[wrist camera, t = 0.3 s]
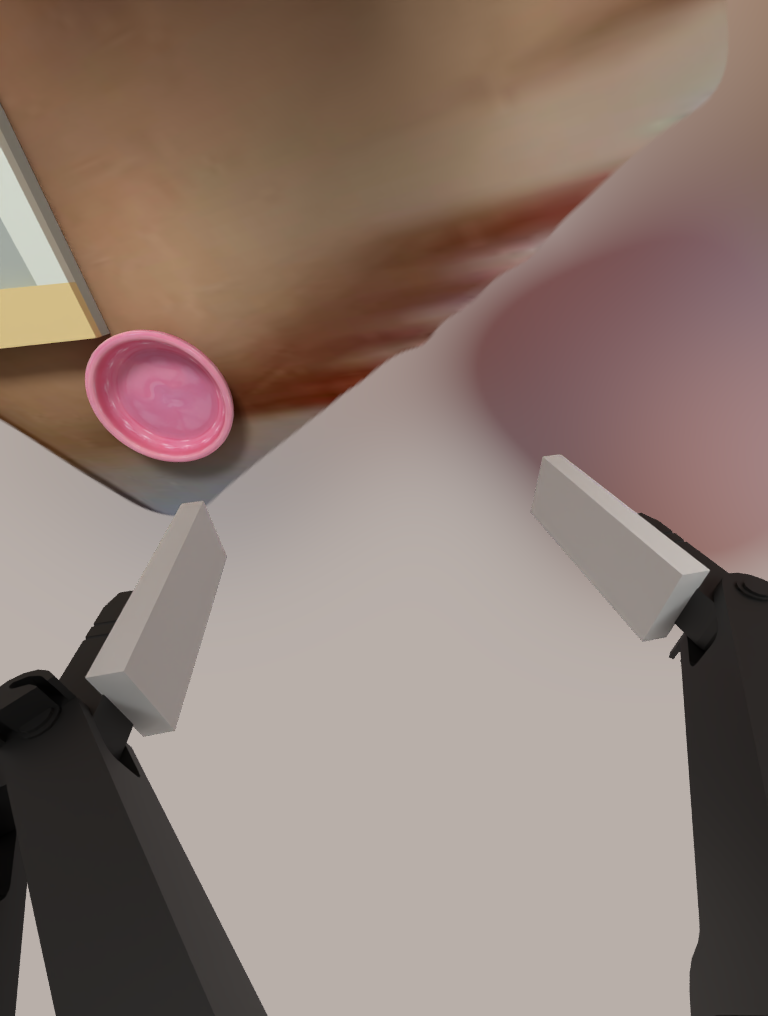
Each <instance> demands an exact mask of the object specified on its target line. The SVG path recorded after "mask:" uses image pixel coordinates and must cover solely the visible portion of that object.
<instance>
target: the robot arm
mask: <svg viewBox="0 0 768 1016" xmlns="http://www.w3.org/2000/svg"><path fill="white" fill-rule="evenodd" d="M531 514H532V515H533V516H534V517H535V518H536V520H537V521H538V522H539V523H540V524H541V525H542V526H543V528H544V529H545V530H546V531H547V532H548V533H549V535H550V536H551V537H552V538H553V539H554V540H555V541H556V543H557V544H558V545H559V546H560V547H561V548H562V549H563V551H564V552H565V553H566V554H567V555H568V556H569V557H570V559H571V560H572V561H573V562H574V563H575V565H577V567H578V568H579V569H580V570H581V571H582V573H583V574H584V575H585V576H586V577H587V578H588V579H589V581H590V582H591V583H592V584H593V585H594V586H595V588H596V589H597V590H598V591H599V592H600V593H601V594H602V596H603V597H604V598H605V599H606V600H607V601H608V603H609V604H610V605H611V606H612V607H613V608H614V610H615V611H616V612H617V613H618V614H619V615H620V616H621V618H622V619H623V620H624V621H625V622H626V623H627V625H628V626H629V627H630V628H631V629H632V630H633V631H634V633H635V634H636V635H637V636H638V637H639V638H640V640H642V641H649V640H653V639H659V638H664V637H667V635H668V634H669V632H670V631H671V629H672V627H673V626H674V624H676V625H677V626H678V627H679V628H680V629H681V630H682V631H683V632H684V633H683V635H682V636H681V638H680V639H679V640H678V642H677V643H676V645H675V646H674V648H673V649H672V651H671V652H670V656H669V657H670V658H672V659H674V658H675V656H676V655H677V654H678V652H681V666H682V679H683V680H682V681H683V694H684V709H685V723H686V737H687V751H688V765H689V780H690V794H691V807H692V823H693V836H694V850H695V863H696V864H695V865H696V879H697V891H698V892H697V893H698V908H699V922H700V933H699V940H698V944H697V947H696V949H695V952H694V955H693V957H692V961H691V968H690V1005H691V1006H690V1007H691V1016H768V582H767V581H765V580H763V579H760V578H758V577H755V576H752V575H748V574H742V573H728V572H726V571H725V570H724V569H722V568H721V567H719V566H718V565H717V564H716V563H714V562H713V561H712V560H710V559H709V558H708V557H706V556H705V555H703V554H702V553H701V552H700V551H698V550H697V549H695V548H694V547H693V546H691V545H690V544H689V543H687V542H684V541H683V539H682V538H681V537H679V536H678V535H677V534H675V533H672V531H671V530H670V529H669V528H667V527H666V526H665V525H663V524H662V523H661V522H659V521H658V520H656V519H653V518H651V517H649V516H647V515H645V514H643V513H636V512H634V511H633V510H632V509H630V508H629V507H628V506H627V505H625V504H624V503H623V502H621V501H620V500H619V499H617V498H616V497H615V496H614V495H612V494H611V493H610V492H608V491H607V490H606V489H605V488H603V487H602V486H601V485H600V484H598V483H597V482H595V481H594V480H593V479H592V478H590V477H589V476H588V475H587V474H585V473H584V472H583V471H581V470H580V469H579V468H578V467H576V466H575V465H574V464H572V463H571V462H570V461H568V460H567V459H566V458H565V457H563V456H562V455H552V456H545V457H543V458H542V463H541V468H540V472H539V477H538V481H537V485H536V490H535V494H534V499H533V503H532V507H531ZM226 558H227V556H226V554H225V551H224V549H223V546H222V544H221V542H220V539H219V537H218V534H217V533H216V530H215V528H214V525H213V523H212V520H211V518H210V515H209V513H208V511H207V508H206V506H205V503H204V501H199V502H191V503H183V504H181V506H180V507H179V509H178V511H177V513H176V515H175V516H174V518H173V520H172V522H171V524H170V525H169V527H168V529H167V531H166V533H165V535H164V536H163V538H162V540H161V542H160V543H159V546H158V547H157V549H156V551H155V552H154V555H153V557H152V558H151V560H150V561H149V563H148V565H147V567H146V569H145V571H144V572H143V574H142V576H141V578H140V580H139V581H138V583H137V585H136V587H135V589H134V590H133V591H128V592H121V593H119V594H118V595H117V596H116V597H114V598H113V599H112V600H111V601H110V602H109V603H108V604H107V605H106V606H105V607H104V608H103V610H102V611H101V613H100V615H99V616H98V618H97V619H96V621H95V622H94V627H91V629H90V631H89V632H88V634H87V636H86V640H84V641H83V642H82V644H81V645H80V647H79V649H78V650H77V652H76V653H75V655H74V657H73V658H72V660H71V662H70V663H69V665H68V667H67V668H66V670H65V672H64V673H63V675H62V676H61V678H60V679H59V680H58V679H57V678H56V677H55V676H54V675H53V674H52V673H50V672H49V671H46V670H35V671H31V672H27V673H23V674H22V675H19V676H17V677H15V678H13V679H11V680H9V681H7V682H6V683H4V684H3V685H2V686H0V1016H15V1010H16V999H17V987H18V977H19V976H18V975H19V966H20V954H21V943H22V933H23V921H24V911H25V899H26V889H27V883H28V888H29V892H30V897H31V901H32V906H33V911H34V916H35V920H36V925H37V930H38V934H39V939H40V944H41V948H42V953H43V958H44V962H45V967H46V972H47V976H48V981H49V986H50V990H51V995H52V1000H53V1004H54V1009H55V1013H56V1016H267V1014H266V1012H265V1010H264V1008H263V1006H262V1004H261V1002H260V1000H259V998H258V996H257V994H256V992H255V990H254V988H253V986H252V984H251V982H250V980H249V978H248V976H247V974H246V972H245V970H244V968H243V966H242V964H241V962H240V960H239V958H238V957H237V954H236V953H235V950H234V949H233V947H232V945H231V943H230V941H229V939H228V937H227V935H226V933H225V931H224V929H223V927H222V925H221V923H220V921H219V919H218V917H217V915H216V913H215V911H214V909H213V907H212V905H211V903H210V901H209V899H208V897H207V895H206V893H205V891H204V890H203V887H202V885H201V883H200V882H199V879H198V878H197V876H196V874H195V872H194V870H193V868H192V866H191V864H190V862H189V860H188V858H187V856H186V854H185V852H184V850H183V848H182V846H181V844H180V842H179V840H178V838H177V836H176V834H175V832H174V830H173V828H172V826H171V824H170V822H169V820H168V819H167V816H166V814H165V812H164V810H163V808H162V806H161V804H160V803H159V801H158V799H157V797H156V795H155V793H154V791H153V789H152V787H151V785H150V783H149V781H148V779H147V777H146V775H145V773H144V771H143V769H142V767H141V765H140V763H139V761H138V759H137V757H136V755H135V753H134V751H133V749H132V748H131V747H130V746H129V745H128V744H127V740H128V737H129V735H130V732H131V730H132V727H135V729H136V730H137V731H138V732H139V733H140V734H141V735H142V736H149V735H154V734H160V733H165V732H170V731H175V729H176V725H177V722H178V718H179V715H180V712H181V708H182V705H183V701H184V698H185V695H186V692H187V688H188V685H189V682H190V678H191V675H192V672H193V668H194V665H195V661H196V658H197V655H198V652H199V648H200V645H201V641H202V638H203V635H204V632H205V628H206V625H207V622H208V618H209V615H210V611H211V608H212V605H213V602H214V598H215V595H216V591H217V588H218V585H219V582H220V578H221V575H222V572H223V568H224V565H225V561H226Z"/></svg>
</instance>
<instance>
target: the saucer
mask: <svg viewBox="0 0 768 1016" xmlns="http://www.w3.org/2000/svg"><path fill="white" fill-rule="evenodd" d="M85 386H86V392H87V396H88V399H89V402H90V404H91V406H92V409H93V411H94V412H95V414H96V416H97V417H98V419H99V420H100V422H101V423H102V424H103V425H104V426H105V428H106V429H107V430H108V431H109V432H110V433H111V434H112V435H113V436H114V437H116V438H117V439H118V440H119V441H121V442H122V443H123V444H125V445H126V446H128V447H129V448H131V449H133V450H134V451H136V452H138V453H141V454H143V455H145V456H148V457H151V458H154V459H158V460H162V461H168V462H188V461H194V460H198V459H201V458H203V457H206V456H208V455H210V454H211V453H213V452H214V451H215V450H217V449H218V448H219V447H220V446H221V445H222V444H223V442H224V441H225V440H226V438H227V436H228V435H229V432H230V430H231V427H232V424H233V418H234V405H233V399H232V395H231V392H230V389H229V387H228V384H227V382H226V380H225V379H224V377H223V375H222V374H221V372H220V371H219V369H218V368H217V367H216V365H215V364H214V363H213V362H212V361H211V360H210V359H209V358H208V357H207V356H206V355H205V354H204V353H202V352H201V351H200V350H199V349H197V348H196V347H195V346H193V345H191V344H190V343H188V342H186V341H184V340H183V339H180V338H178V337H176V336H173V335H171V334H167V333H164V332H160V331H154V330H133V331H127V332H123V333H120V334H117V335H114V336H112V337H110V338H109V339H107V340H105V341H104V342H103V343H102V344H100V345H99V346H98V347H97V348H96V350H95V351H94V352H93V354H92V355H91V357H90V359H89V361H88V364H87V368H86V373H85Z"/></svg>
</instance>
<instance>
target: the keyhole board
mask: <svg viewBox="0 0 768 1016" xmlns="http://www.w3.org/2000/svg"><path fill="white" fill-rule="evenodd" d="M107 334H110V332H109V330H108V328H107V326H106V324H105V322H104V320H103V318H102V315H101V313H100V311H99V309H98V307H97V305H96V303H95V301H94V299H93V297H92V294H91V292H90V290H89V288H88V286H87V284H86V282H85V280H84V278H83V276H82V273H81V271H80V269H79V267H78V265H77V263H76V261H75V259H74V257H73V255H72V253H71V250H70V248H69V246H68V244H67V242H66V240H65V238H64V236H63V234H62V232H61V229H60V227H59V225H58V223H57V221H56V219H55V217H54V215H53V213H52V211H51V209H50V206H49V204H48V202H47V200H46V198H45V196H44V194H43V192H42V190H41V188H40V185H39V183H38V181H37V179H36V177H35V175H34V173H33V171H32V169H31V167H30V164H29V162H28V160H27V158H26V156H25V154H24V152H23V150H22V148H21V146H20V144H19V141H18V139H17V137H16V135H15V133H14V131H13V129H12V127H11V125H10V123H9V120H8V118H7V116H6V114H5V112H4V110H3V108H2V106H1V104H0V349H1V348H10V347H19V346H28V345H37V344H46V343H55V342H64V341H74V340H83V339H92V338H98V337H101V336H104V335H107Z"/></svg>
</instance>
